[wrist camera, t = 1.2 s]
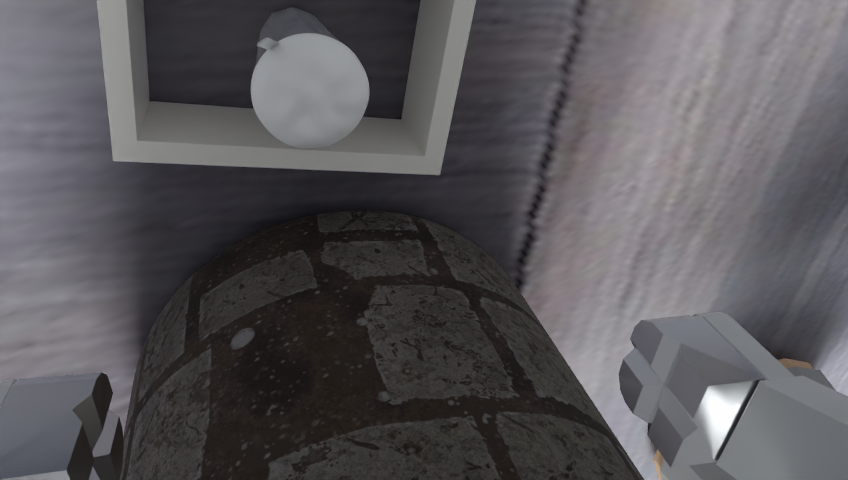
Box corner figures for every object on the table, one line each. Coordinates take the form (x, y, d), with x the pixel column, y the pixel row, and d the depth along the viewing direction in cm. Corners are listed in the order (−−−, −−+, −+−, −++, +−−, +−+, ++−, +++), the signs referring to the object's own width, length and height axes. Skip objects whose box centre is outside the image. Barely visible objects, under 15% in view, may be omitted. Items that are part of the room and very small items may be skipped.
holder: (129, 118, 29) (113, 161, 25) (109, -112, 24) (85, -104, 20) (414, 137, 34) (439, 175, 30) (448, -52, 29) (483, -37, 25)
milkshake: (291, -44, 27) (317, 0, 19) (355, 51, 30) (401, 123, 22) (213, 13, 28) (207, 79, 20) (285, 102, 31) (304, 189, 23)
